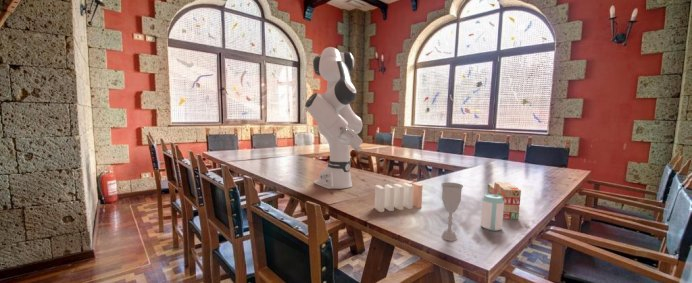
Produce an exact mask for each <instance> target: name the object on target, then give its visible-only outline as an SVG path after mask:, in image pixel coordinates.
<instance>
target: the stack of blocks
mask: <svg viewBox="0 0 692 283" xmlns="http://www.w3.org/2000/svg"><path fill="white" fill-rule="evenodd" d="M486 194H496V195H500V196H502V199H503V201H504V210H503V220H517V221H518V220H519V217H520V204H521V196H522V189H520V188H519V187H518V186H516V185H514V184H512V183H511V182H502V181H501V182H500V181H494V183H487V193H486Z"/></svg>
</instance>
